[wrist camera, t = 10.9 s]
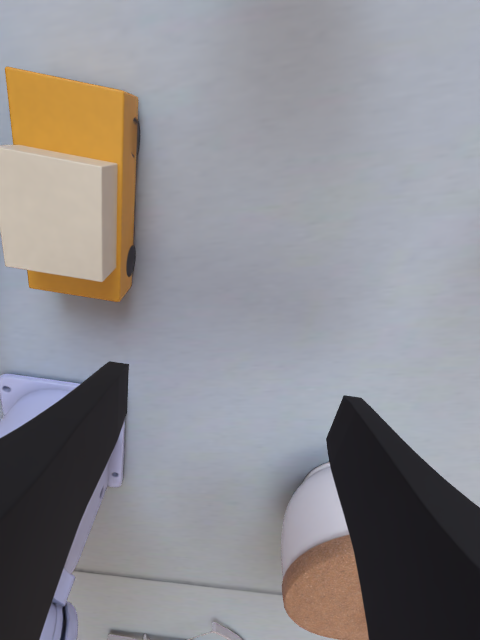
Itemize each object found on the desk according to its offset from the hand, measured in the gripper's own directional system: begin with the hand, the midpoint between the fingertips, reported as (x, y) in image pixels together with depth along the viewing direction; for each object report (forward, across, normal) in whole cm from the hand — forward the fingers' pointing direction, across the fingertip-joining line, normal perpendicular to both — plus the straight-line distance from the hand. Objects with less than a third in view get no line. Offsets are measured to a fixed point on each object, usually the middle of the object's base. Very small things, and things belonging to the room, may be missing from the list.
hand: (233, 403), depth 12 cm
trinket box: (+10, -11, +15) cm, 21 cm away
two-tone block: (+9, +8, -4) cm, 13 cm away
